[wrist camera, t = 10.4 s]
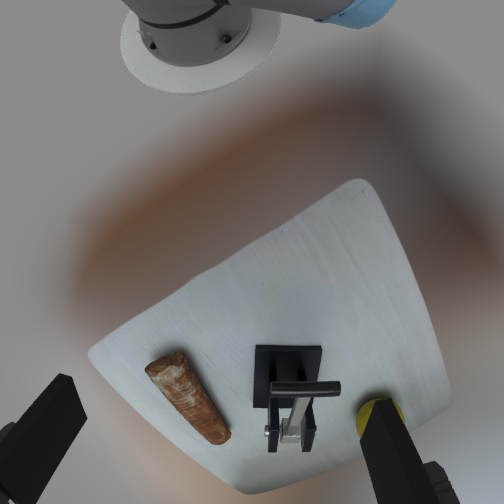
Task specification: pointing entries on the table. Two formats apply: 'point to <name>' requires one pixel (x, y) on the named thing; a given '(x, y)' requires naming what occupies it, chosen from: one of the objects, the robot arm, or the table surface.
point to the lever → (300, 403)
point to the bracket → (285, 370)
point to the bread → (188, 396)
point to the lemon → (365, 414)
